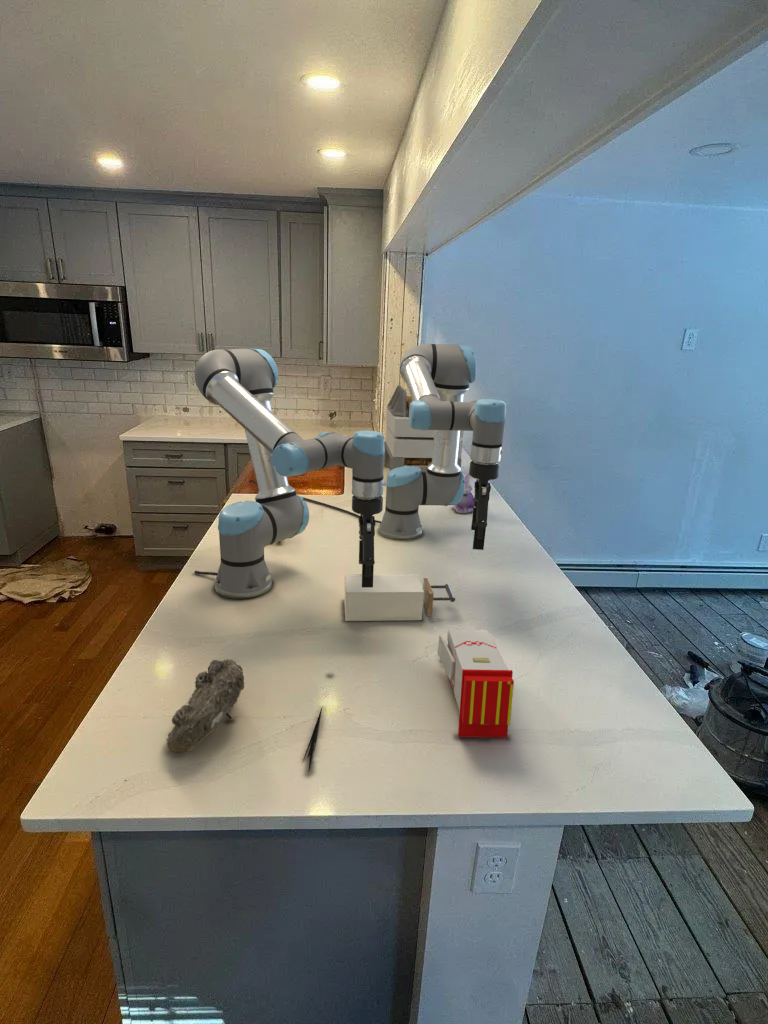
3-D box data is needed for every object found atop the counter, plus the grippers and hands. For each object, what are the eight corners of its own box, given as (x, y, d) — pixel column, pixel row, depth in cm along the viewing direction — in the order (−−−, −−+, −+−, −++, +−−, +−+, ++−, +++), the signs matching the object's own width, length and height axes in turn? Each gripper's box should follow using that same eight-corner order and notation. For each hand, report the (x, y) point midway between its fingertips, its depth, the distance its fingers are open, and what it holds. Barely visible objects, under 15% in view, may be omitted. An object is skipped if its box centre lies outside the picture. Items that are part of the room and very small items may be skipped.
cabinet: (415, 600, 155) (417, 573, 152) (421, 620, 145) (423, 591, 142) (344, 601, 153) (344, 573, 150) (345, 620, 143) (346, 592, 140)
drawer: (447, 598, 155) (449, 577, 153) (454, 615, 146) (456, 593, 144) (358, 599, 152) (359, 578, 150) (360, 616, 144) (361, 594, 142)
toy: (488, 613, 130) (523, 677, 101) (484, 667, 133) (517, 744, 104) (435, 612, 130) (455, 676, 101) (432, 666, 133) (451, 743, 103)
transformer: (382, 463, 289) (386, 382, 275) (445, 464, 293) (451, 384, 279) (390, 482, 257) (394, 392, 243) (460, 483, 261) (468, 394, 247)
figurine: (461, 515, 220) (465, 478, 215) (447, 507, 229) (450, 471, 224) (481, 512, 224) (485, 476, 219) (466, 504, 233) (469, 469, 228)
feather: (331, 679, 122) (336, 673, 122) (307, 777, 96) (313, 769, 95) (324, 675, 122) (329, 669, 121) (298, 772, 95) (304, 764, 95)
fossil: (192, 660, 117) (244, 628, 112) (224, 691, 120) (276, 661, 115) (142, 746, 98) (202, 712, 93) (182, 779, 101) (242, 748, 96)
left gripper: (388, 512, 126) (384, 597, 133) (378, 481, 150) (376, 554, 157) (354, 512, 126) (352, 598, 133) (350, 480, 149) (349, 555, 156)
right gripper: (504, 475, 132) (494, 559, 139) (496, 451, 155) (488, 524, 162) (471, 473, 132) (463, 556, 140) (469, 449, 156) (462, 522, 163)
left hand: (365, 574), depth 145 cm, fingers open, 13 cm apart
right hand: (477, 539), depth 151 cm, fingers open, 13 cm apart
